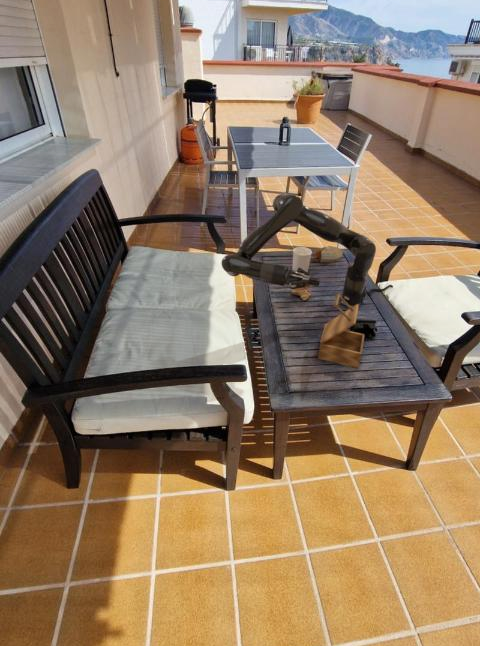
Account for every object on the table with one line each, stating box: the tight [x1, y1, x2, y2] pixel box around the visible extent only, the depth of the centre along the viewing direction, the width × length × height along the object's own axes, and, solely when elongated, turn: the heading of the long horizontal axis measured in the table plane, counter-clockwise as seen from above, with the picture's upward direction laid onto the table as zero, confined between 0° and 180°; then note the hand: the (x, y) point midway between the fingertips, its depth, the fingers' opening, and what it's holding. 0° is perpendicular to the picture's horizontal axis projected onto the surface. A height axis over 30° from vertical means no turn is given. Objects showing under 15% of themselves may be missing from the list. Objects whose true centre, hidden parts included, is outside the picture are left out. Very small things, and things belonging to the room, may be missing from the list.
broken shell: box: [290, 285, 313, 301], centre depth 187 cm, size 9×10×10 cm
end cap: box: [349, 318, 378, 340], centre depth 165 cm, size 10×7×7 cm
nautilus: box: [310, 245, 344, 264], centre depth 219 cm, size 8×22×15 cm
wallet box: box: [317, 329, 365, 369], centre depth 154 cm, size 16×13×7 cm
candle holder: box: [291, 246, 313, 273], centre depth 206 cm, size 10×10×12 cm
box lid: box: [319, 292, 360, 344], centre depth 147 cm, size 16×13×10 cm
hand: (319, 282), depth 142 cm, fingers closed
